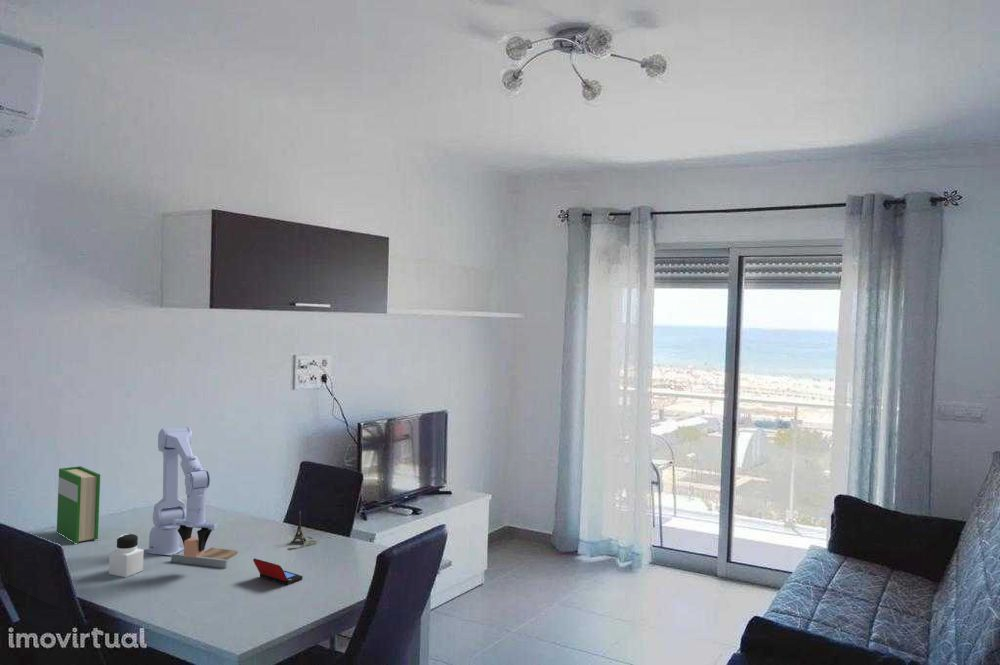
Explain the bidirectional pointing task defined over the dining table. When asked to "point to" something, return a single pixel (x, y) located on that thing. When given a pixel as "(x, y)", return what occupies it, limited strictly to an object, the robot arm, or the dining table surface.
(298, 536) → the eiffel tower figurine
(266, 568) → the handheld game console
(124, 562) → the medicine bottle
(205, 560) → the low wall
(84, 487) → the hardback book
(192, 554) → the terracotta block
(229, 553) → the walnut pad
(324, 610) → the dining table surface
